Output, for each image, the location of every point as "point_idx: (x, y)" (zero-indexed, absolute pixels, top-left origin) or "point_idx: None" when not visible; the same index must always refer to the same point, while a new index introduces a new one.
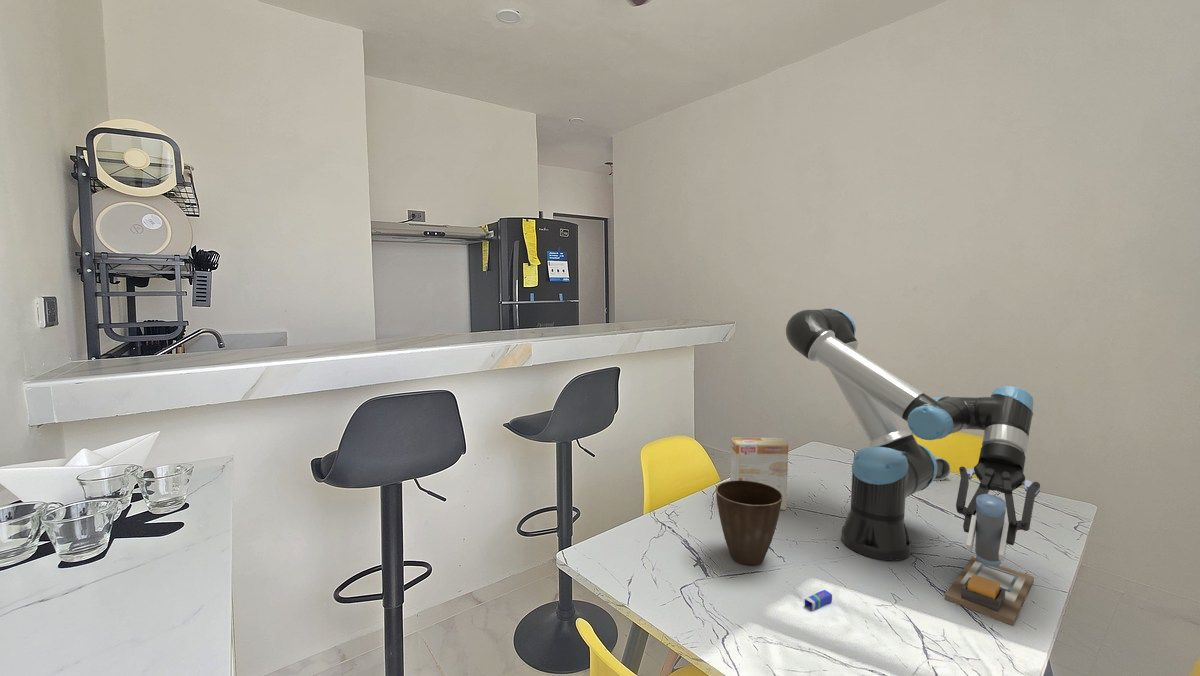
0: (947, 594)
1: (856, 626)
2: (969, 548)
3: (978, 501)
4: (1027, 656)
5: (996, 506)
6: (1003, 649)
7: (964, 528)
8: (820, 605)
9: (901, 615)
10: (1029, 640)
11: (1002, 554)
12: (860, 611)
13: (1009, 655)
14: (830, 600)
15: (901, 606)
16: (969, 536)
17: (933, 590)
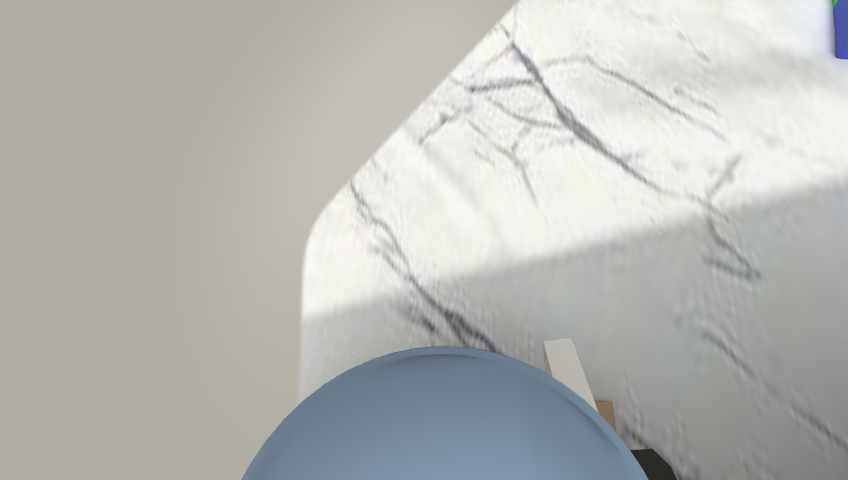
0: (604, 409)
1: (703, 17)
2: None
3: (594, 426)
4: (327, 256)
5: (336, 432)
6: (381, 237)
7: (647, 449)
8: (836, 3)
9: (653, 166)
10: (330, 353)
11: (363, 360)
12: (745, 85)
13: (365, 221)
14: (840, 45)
15: (682, 217)
16: (576, 382)
17: (667, 441)
